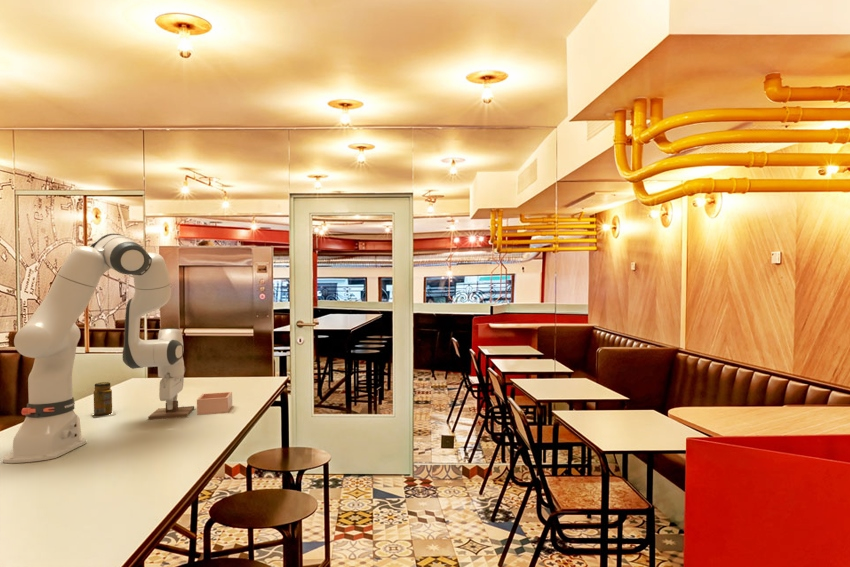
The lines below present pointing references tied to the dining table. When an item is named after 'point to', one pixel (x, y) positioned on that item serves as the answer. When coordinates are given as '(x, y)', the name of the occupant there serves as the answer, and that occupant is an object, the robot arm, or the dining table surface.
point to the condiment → (102, 400)
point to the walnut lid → (171, 412)
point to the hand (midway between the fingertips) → (172, 407)
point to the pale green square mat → (175, 418)
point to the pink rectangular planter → (214, 403)
